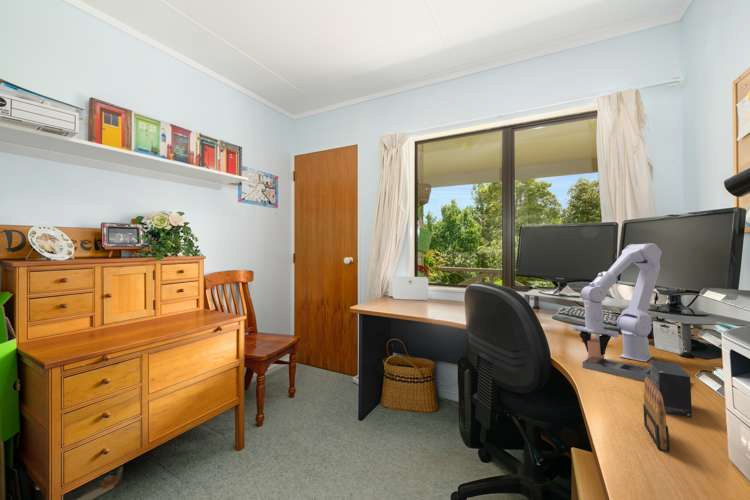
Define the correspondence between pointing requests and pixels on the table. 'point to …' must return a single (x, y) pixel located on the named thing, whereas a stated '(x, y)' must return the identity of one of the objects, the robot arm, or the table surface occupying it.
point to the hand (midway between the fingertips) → (596, 352)
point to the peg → (594, 348)
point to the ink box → (667, 338)
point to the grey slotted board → (617, 368)
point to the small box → (672, 387)
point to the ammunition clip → (655, 416)
